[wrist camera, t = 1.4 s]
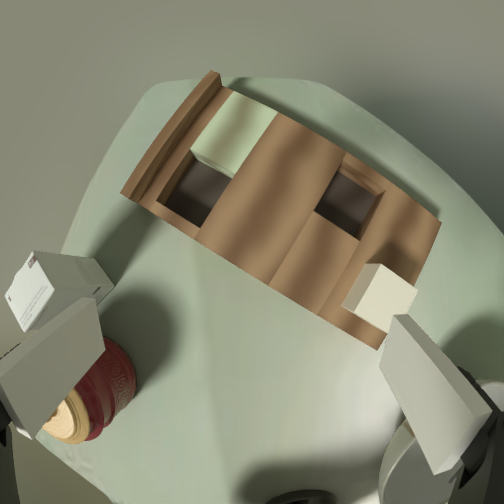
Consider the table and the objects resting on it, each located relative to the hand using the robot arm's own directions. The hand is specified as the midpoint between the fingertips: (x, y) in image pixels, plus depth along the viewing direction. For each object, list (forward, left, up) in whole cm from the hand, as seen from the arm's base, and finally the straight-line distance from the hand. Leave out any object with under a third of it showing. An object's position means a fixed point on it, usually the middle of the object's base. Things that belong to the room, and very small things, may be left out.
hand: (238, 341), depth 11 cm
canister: (+12, +24, -27) cm, 38 cm away
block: (-14, -7, -23) cm, 27 cm away
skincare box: (+20, +13, -27) cm, 36 cm away
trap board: (0, -12, -27) cm, 29 cm away
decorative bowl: (-41, +6, -27) cm, 49 cm away
